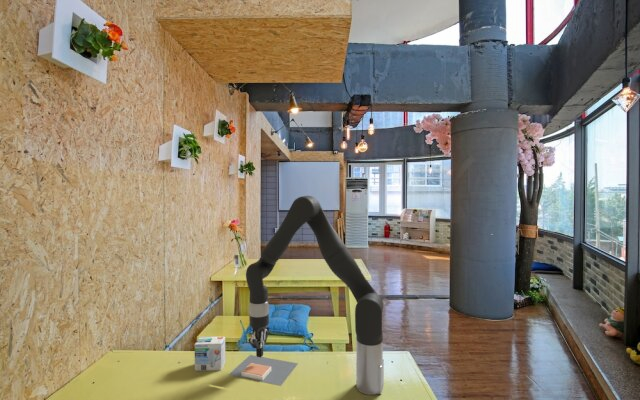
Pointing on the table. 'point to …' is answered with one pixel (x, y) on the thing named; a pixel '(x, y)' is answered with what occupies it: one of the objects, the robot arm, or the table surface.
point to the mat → (278, 366)
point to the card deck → (256, 371)
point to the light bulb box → (209, 353)
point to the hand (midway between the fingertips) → (259, 356)
